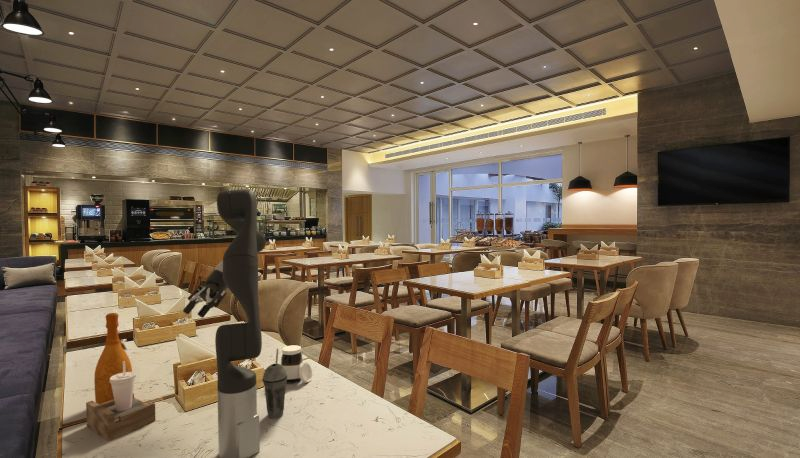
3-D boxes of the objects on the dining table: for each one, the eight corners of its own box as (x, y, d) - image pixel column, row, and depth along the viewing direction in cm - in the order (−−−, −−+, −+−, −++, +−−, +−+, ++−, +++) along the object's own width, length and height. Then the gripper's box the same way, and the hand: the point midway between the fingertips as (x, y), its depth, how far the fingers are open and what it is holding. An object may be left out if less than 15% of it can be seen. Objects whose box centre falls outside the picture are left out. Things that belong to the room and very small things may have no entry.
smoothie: (123, 414, 111) (121, 366, 111) (104, 412, 112) (103, 364, 112) (142, 403, 117) (140, 358, 117) (124, 402, 119) (122, 356, 118)
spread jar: (283, 374, 150) (282, 344, 150) (313, 372, 152) (312, 342, 152) (279, 387, 138) (278, 355, 138) (311, 385, 140) (311, 353, 140)
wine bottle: (128, 408, 123) (125, 315, 122) (90, 414, 120) (87, 318, 119) (136, 395, 132) (134, 308, 132) (101, 401, 129) (98, 311, 128)
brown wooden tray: (155, 420, 116) (154, 397, 116) (108, 440, 106) (108, 415, 105) (132, 408, 123) (132, 387, 123) (86, 426, 113) (86, 402, 113)
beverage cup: (257, 417, 117) (256, 351, 117) (275, 406, 124) (274, 344, 123) (275, 423, 114) (274, 355, 114) (293, 412, 121) (292, 348, 120)
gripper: (204, 267, 139) (172, 305, 130) (229, 270, 132) (196, 310, 122) (218, 280, 144) (188, 317, 134) (242, 283, 136) (213, 323, 127)
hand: (192, 314), depth 128 cm, fingers open, 8 cm apart
